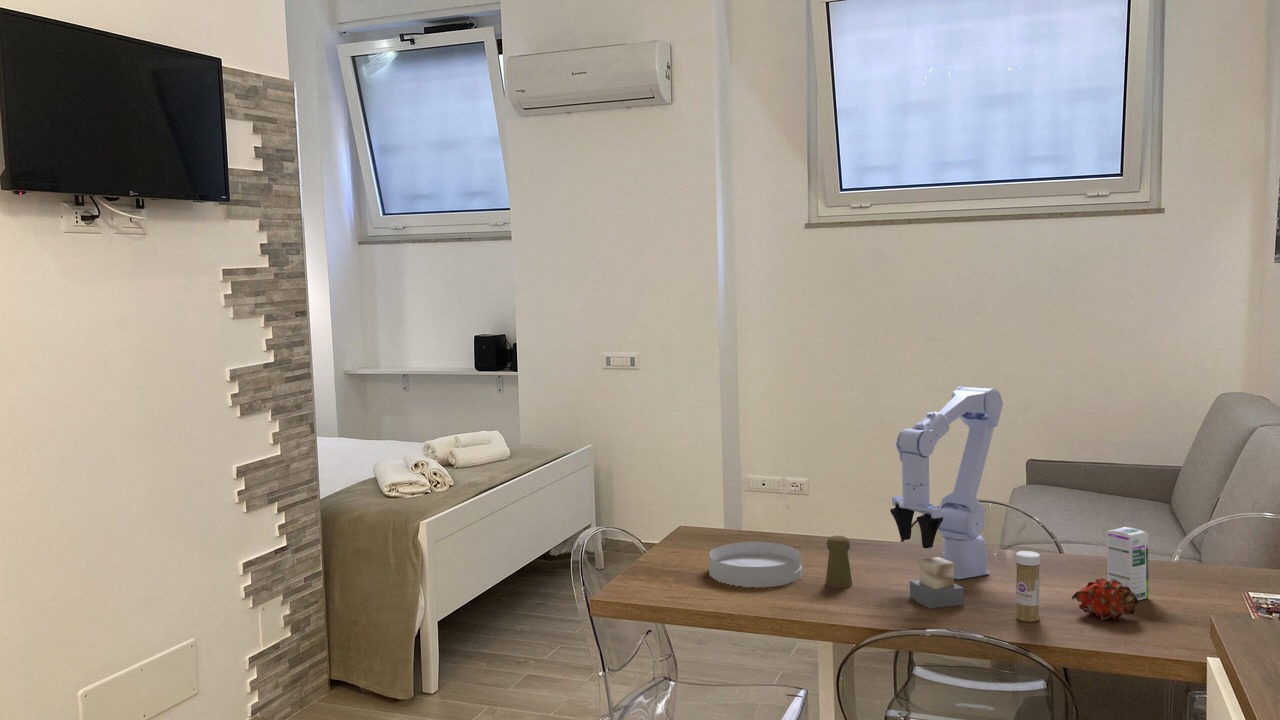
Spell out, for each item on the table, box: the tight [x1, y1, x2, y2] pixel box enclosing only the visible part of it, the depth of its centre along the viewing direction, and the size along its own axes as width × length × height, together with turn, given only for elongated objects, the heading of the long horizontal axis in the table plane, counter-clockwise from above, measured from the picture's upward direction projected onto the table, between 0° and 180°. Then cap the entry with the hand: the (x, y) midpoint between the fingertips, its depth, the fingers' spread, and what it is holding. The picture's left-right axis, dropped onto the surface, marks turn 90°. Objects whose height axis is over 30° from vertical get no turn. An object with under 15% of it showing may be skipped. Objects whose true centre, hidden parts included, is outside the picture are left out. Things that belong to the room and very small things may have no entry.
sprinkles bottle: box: [1015, 550, 1041, 623], centre depth 190 cm, size 5×5×13 cm
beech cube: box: [918, 556, 955, 589], centre depth 203 cm, size 5×5×5 cm
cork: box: [825, 535, 853, 589], centre depth 216 cm, size 6×6×11 cm
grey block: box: [909, 579, 965, 609], centre depth 203 cm, size 8×8×4 cm
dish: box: [708, 541, 803, 589], centre depth 227 cm, size 22×22×5 cm
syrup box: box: [1106, 526, 1150, 601], centre depth 201 cm, size 6×6×14 cm
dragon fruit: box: [1071, 578, 1139, 621], centre depth 190 cm, size 8×8×12 cm
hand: (916, 543), depth 211 cm, fingers open, 7 cm apart
